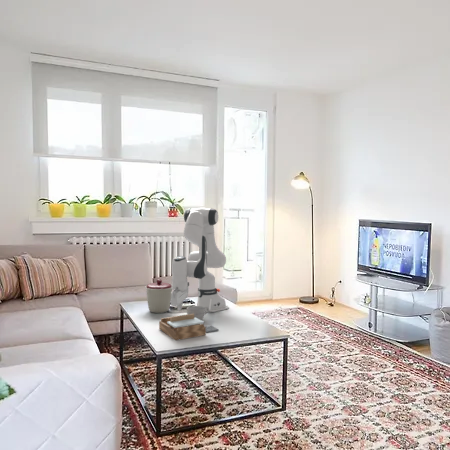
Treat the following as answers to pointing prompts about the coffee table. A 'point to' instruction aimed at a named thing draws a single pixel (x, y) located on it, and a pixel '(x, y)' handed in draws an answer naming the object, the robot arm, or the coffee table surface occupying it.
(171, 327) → the cold frame
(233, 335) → the coffee table surface
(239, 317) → the coffee table surface
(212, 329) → the tile
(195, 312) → the teacup
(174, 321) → the lid
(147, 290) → the canister
